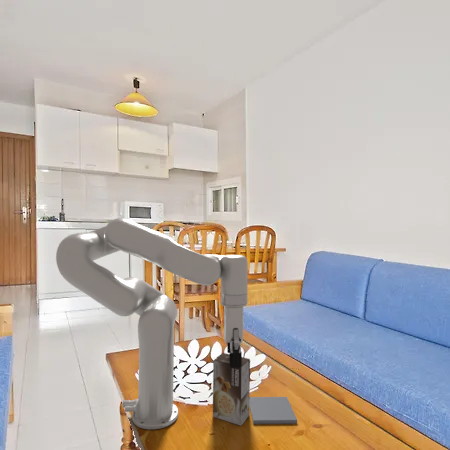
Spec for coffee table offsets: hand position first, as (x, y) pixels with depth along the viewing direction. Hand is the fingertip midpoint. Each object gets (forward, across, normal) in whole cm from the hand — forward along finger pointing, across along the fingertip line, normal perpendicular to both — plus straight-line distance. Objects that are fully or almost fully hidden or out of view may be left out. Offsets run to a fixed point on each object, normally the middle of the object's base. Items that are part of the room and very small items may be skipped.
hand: (234, 359), depth 94 cm
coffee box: (+16, 0, -1) cm, 16 cm away
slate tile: (+16, -2, +11) cm, 20 cm away
